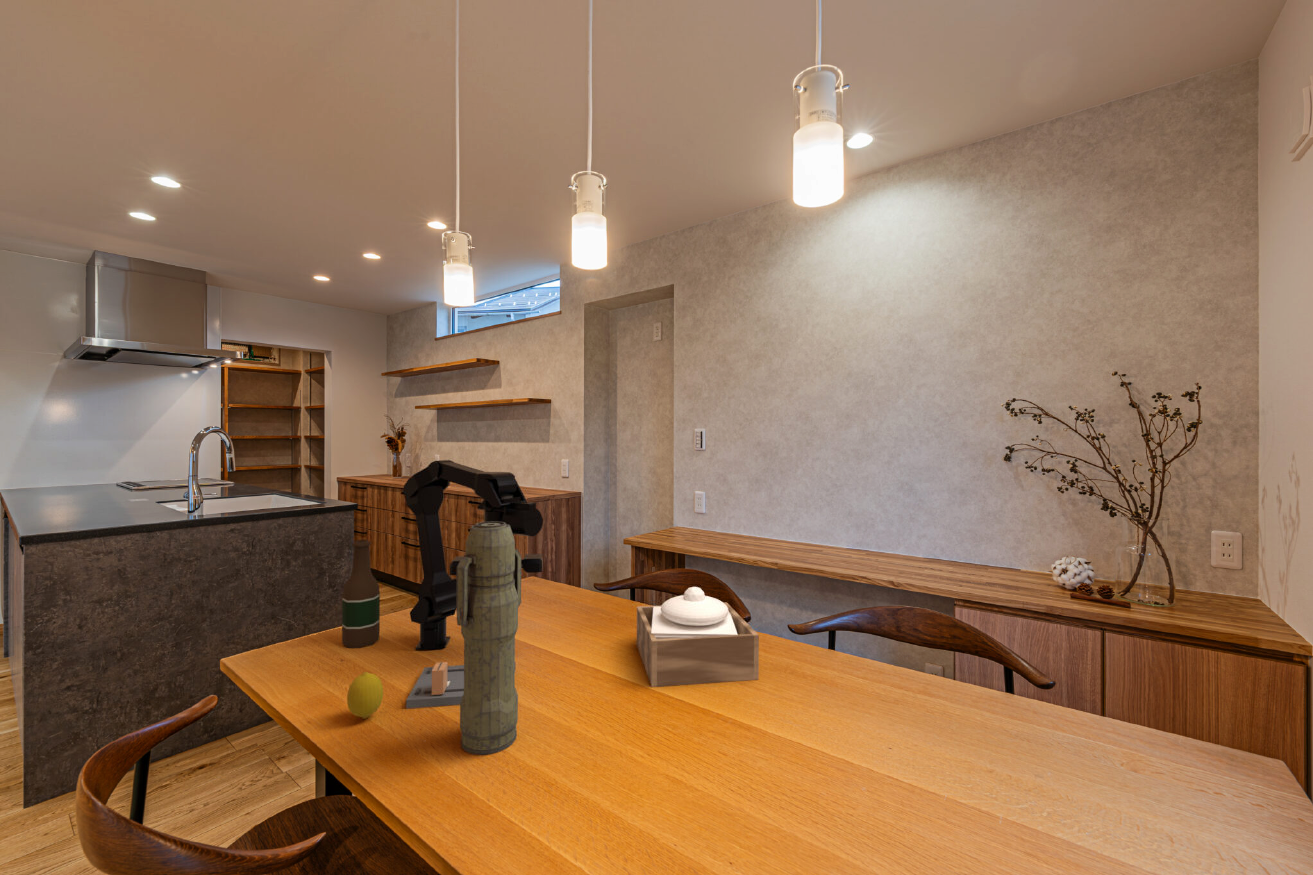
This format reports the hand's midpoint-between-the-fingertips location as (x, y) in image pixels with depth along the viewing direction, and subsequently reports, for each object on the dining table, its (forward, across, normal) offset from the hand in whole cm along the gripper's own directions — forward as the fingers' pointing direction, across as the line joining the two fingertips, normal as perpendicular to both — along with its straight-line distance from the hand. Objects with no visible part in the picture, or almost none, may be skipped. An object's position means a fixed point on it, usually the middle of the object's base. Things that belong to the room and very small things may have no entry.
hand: (497, 604), depth 117 cm
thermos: (+13, +2, -29) cm, 32 cm away
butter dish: (+13, +42, -4) cm, 44 cm away
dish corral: (+13, +42, -4) cm, 44 cm away
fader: (+11, -9, -14) cm, 20 cm away
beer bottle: (+13, -33, +18) cm, 40 cm away
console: (+13, -5, -10) cm, 17 cm away
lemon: (+13, -20, -19) cm, 31 cm away
